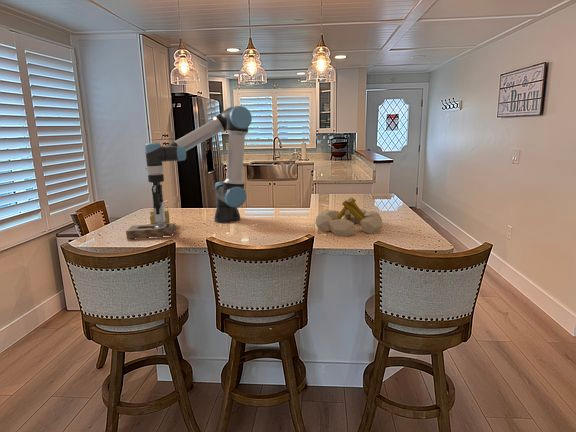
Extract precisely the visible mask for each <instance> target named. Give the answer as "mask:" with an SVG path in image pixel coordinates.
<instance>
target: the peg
mask: <svg viewBox="0 0 576 432" xmlns="http://www.w3.org/2000/svg"><path fill="white" fill-rule="evenodd" d="M152 206H153V207H154V204H153V203H152ZM153 207H152V208H153ZM160 208H161V216H162V220H157V221H156V213H155V208H153V209H154V218H155V222H157V225H156V226H155V229H156V228H167V225H165V224H164V221H165V211H164V208H165V202H164V200H163V201H160Z"/></svg>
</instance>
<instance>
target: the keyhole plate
mask: <svg viewBox="0 0 576 432" xmlns="http://www.w3.org/2000/svg"><path fill="white" fill-rule="evenodd" d="M156 225H157V224H132V225H131V226H130V227H129V228H127V229H126V230H125V234H126V240H127V239H131V240H136V239H135V238H149V237H163V236H172V234H173V233H174V231H175V232H176V224H175V222H174V223H173V222H171V223H170V222H169V223H167V224H165V225H167V228H156V229H155V226H156ZM174 234H175V233H174ZM174 234H173V235H174ZM172 237H173V236H172ZM149 239H150V238H149Z"/></svg>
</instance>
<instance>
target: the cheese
mask: <svg viewBox="0 0 576 432" xmlns="http://www.w3.org/2000/svg"><path fill="white" fill-rule="evenodd" d="M164 211H165V221H164V224H167V223H170V212H169V208H168V207H164ZM149 216H150V217H149V221H150V224H157V222H155V218H154V208H151V209H149Z"/></svg>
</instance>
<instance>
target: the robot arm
mask: <svg viewBox="0 0 576 432" xmlns="http://www.w3.org/2000/svg"><path fill="white" fill-rule="evenodd" d="M252 116H253V115H252V113H251V112H250V110H249V109H248V108H246V107H245V106H241V105H235V106H231V107H227V108H226V109H224V110H223V111H221V112H220V113H219V114H217V115H215V116H214V117H213V119H211V120H210V121H209V122H207V123H205V124H204V125H203V124H202V126H200V127H198V128H196V129H194V130H192V131H190V132H189V133H186V134H185V135H184V136H182V137H180V138H178V139H176V140H175V141H173V142H171V143H170V144H166V145H164V146H162V145H161V143H160V142H150V143H149V142H148V143H146V144H145V145H144V146H145V147H144V148H145V151H144V152H145V161H146V168H145V170H147V174H148V175H147V179H148V182H149V183H151V184H152V186H151V193H152V202H153V203H152V205H153V204H154V207H152V209H154V208H155V213H156V221H157V220H162V216H161V208H160V201H164V198H163V197H164V196H163V185H162V184H161V183H163V182H164V181H165V177H164V166H163V162H166V163H167V162H182V161H185V160H186V159H187V151H189V150H191V149H193V148H194V147H196V146H199V145H200V144H201V143H203V142H205V141H206V140H208V139H210V138H212V137H214V136H215V135H217V134H219V133H225V132H227V134H228V142H227V143H228V145H227V146H228V147H227V159H226V160H227V162H226V163H227V164H226V165H227V166H226V178H225V180H223V181H217V182H215V184H214V190H215V204H216V209H215V212H214V222H215V223H221V224H222V223H223V224H224V223H225V224H228V223H235V222H238V221H240V220H241V214H240V211H239V210H238V208H239V207H242V206H243V205H244V204H245V202H246V200H247V192H246V190H245V182H244V181H243V174H244V173H243V171H244V170H243V169H244V153H245V141H246V139H245V138H246V137H245V136H246V135H248V134H249V126H250V125H251V124H252V120H253V119H252Z"/></svg>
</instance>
